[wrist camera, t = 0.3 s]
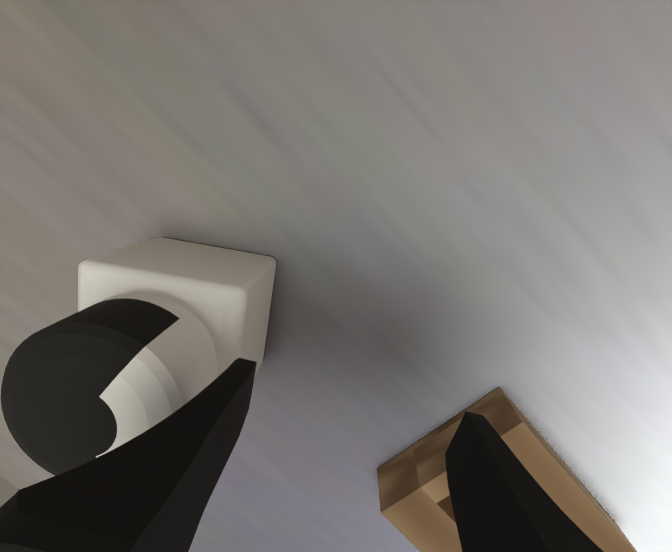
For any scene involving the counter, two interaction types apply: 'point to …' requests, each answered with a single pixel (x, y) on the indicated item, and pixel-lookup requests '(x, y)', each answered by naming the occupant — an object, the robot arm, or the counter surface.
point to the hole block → (433, 493)
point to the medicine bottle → (134, 347)
